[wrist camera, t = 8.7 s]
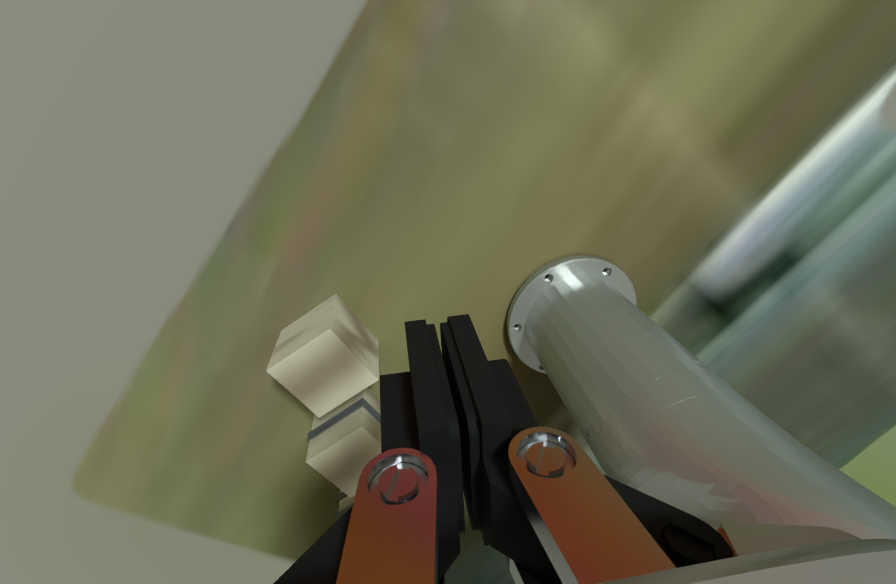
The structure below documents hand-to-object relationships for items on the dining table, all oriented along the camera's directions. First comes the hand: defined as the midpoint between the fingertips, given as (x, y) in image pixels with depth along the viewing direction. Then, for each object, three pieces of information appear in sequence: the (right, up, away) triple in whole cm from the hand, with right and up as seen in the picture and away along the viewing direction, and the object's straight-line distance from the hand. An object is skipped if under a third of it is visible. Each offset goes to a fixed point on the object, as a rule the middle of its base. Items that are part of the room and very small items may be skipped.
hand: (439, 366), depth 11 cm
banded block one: (-9, -11, +32) cm, 35 cm away
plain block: (-10, -2, +28) cm, 29 cm away
